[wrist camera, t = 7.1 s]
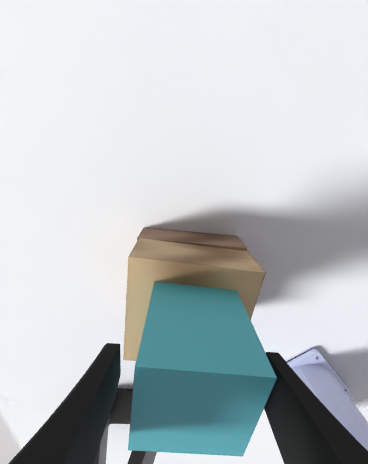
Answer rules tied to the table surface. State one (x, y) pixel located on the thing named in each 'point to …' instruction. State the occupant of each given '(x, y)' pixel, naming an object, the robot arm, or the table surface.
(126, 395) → the phone stand
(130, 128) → the table surface
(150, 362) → the teal cube
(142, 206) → the table surface
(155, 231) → the tower base
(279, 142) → the table surface
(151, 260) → the tower top
